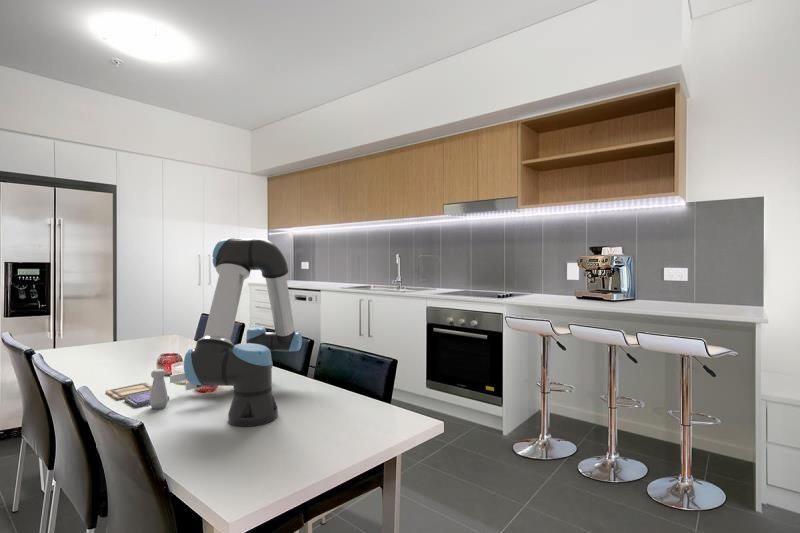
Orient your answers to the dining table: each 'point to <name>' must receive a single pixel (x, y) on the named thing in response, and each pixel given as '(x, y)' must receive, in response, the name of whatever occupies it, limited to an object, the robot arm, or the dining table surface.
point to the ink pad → (139, 399)
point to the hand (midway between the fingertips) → (177, 382)
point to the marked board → (129, 391)
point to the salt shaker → (158, 390)
